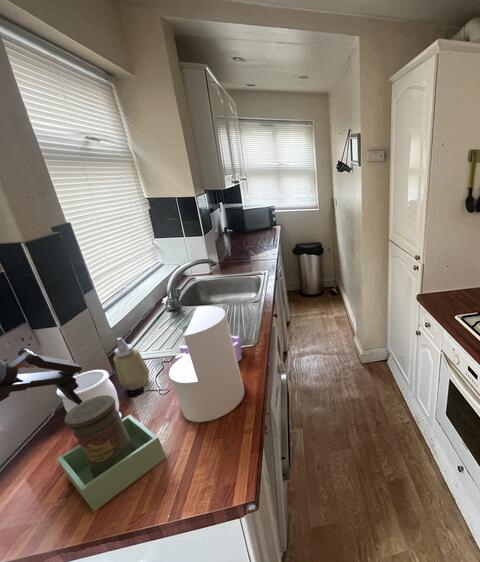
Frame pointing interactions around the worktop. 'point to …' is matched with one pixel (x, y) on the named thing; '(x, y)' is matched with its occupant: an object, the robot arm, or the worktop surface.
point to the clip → (235, 343)
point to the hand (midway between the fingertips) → (33, 433)
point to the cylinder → (207, 368)
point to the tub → (118, 474)
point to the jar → (91, 388)
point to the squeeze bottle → (130, 366)
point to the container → (100, 433)
